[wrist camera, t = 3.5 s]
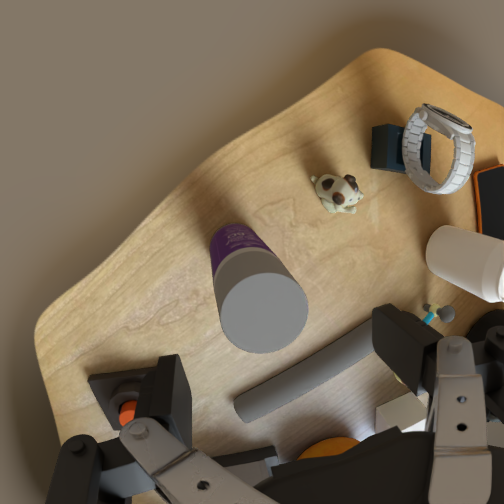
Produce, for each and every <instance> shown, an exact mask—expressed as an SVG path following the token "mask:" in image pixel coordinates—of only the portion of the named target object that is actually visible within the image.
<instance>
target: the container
mask: <svg viewBox="0 0 504 504" xmlns="http://www.w3.org/2000/svg"><path fill="white" fill-rule="evenodd" d="M210 257H211V267H212V277H213V286H214V292H215V297H216V302H217V307H218V312H219V317H220V322H221V326H222V329H223V332H224V334H225V335H226V337H227V338H228V340H229V341H230V342H231V343H233V344H234V345H235V346H236V347H238V348H240V349H242V350H244V351H247V352H251V353H259V354H262V353H270V352H274V351H277V350H280V349H282V348H284V347H286V346H287V345H289V344H290V343H292V342H293V341H294V340H295V339H296V338H297V337H298V336H299V334H300V333H301V332H302V330H303V328H304V326H305V324H306V321H307V318H308V301H307V297H306V295H305V293H304V291H303V289H302V288H301V287H300V285H299V284H298V283H297V281H296V280H295V279H294V278H293V276H292V275H291V274H290V272H289V271H288V270H287V269H286V267H285V266H284V265H283V263H282V262H281V261H280V259H279V258H278V257H277V256H276V255H275V254H274V253H273V252H272V251H271V249H270V248H269V247H268V246H267V245H266V244H265V243H264V242H263V241H262V240H261V239H260V238H259V237H258V235H257V234H256V233H255V232H254V231H253V230H252V229H250V228H249V227H247V226H245V225H243V224H238V223H232V224H227V225H225V226H223V227H221V228H220V229H219V230H217V231H216V233H215V234H214V235H213V237H212V239H211V243H210Z"/></svg>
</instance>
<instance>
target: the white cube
mask: <svg viewBox="0 0 504 504" xmlns="http://www.w3.org/2000/svg"><path fill="white" fill-rule="evenodd" d="M426 412H427V408H426V407H425V406H424V405H423V404H422V403H421V402H420V400H419V399H418V398H417V397H416V396H415V395H414V394H413V393H412V392H409V393H407V394H405V395H403V396H401V397H398V398H396V399H394V400H392V401H390V402H387V403H385V404H383V405H381V406H378V407H376V423H375V434H377V433H380V432H382V431H385V430H387V429H389V428H392V427H394V426H396V425H397V426H398V427H399V429H400V430H401V431H402V433H403V432H410V431H424V428H425V421H426Z"/></svg>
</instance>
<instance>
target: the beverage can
mask: <svg viewBox="0 0 504 504" xmlns="http://www.w3.org/2000/svg"><path fill="white" fill-rule="evenodd" d="M426 262H427V266H428V268H429V270H430V271H431V272H432V273H433V274H435V275H437V276H439V277H441V278H443V279H445V280H447V281H449V282H451V283H452V284H454V285H456V286H458V287H460V288H462V289H464V290H466V291H468V292H470V293H472V294H474V295H476V296H478V297H480V298H482V299H484V300H486V301H488V302H490V303H494V302H500V301H502V302H504V241H503V240H500V239H497V238H493V237H490V236H487V235H483V234H480V233H476V232H473V231H469V230H466V229H462V228H458V227H454V226H450V225H444V226H441V227H439V228H438V229H437V230H435V232H434V233H433V234H432V235H431V237H430V239H429V241H428V244H427V248H426Z"/></svg>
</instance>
